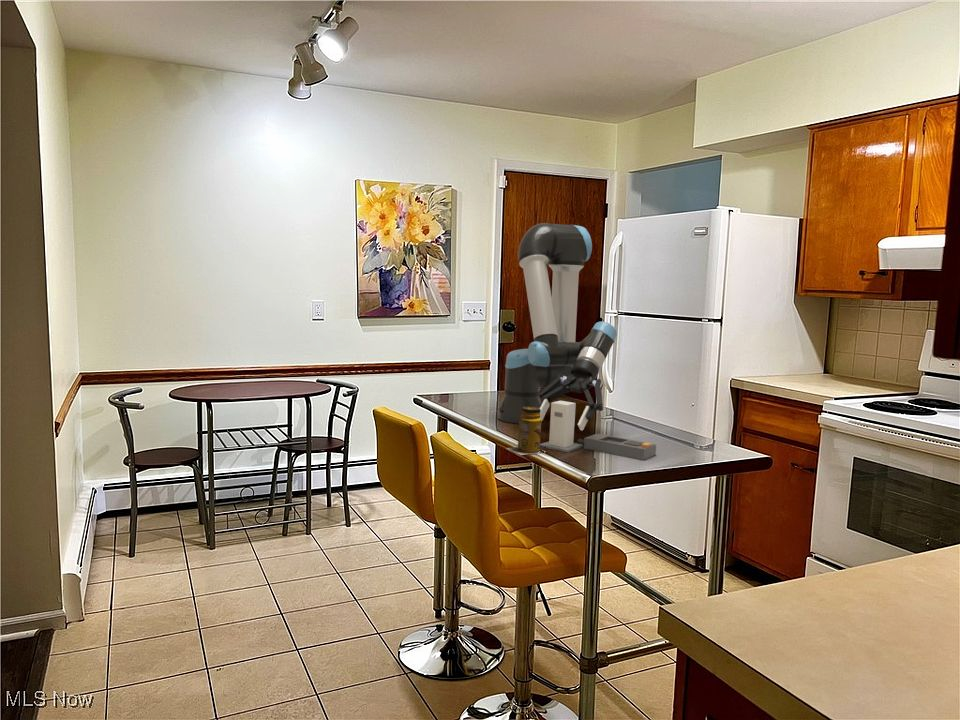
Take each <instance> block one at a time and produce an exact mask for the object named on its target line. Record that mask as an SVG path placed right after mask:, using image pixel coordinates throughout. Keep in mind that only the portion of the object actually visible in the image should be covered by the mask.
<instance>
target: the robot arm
mask: <svg viewBox="0 0 960 720" xmlns="http://www.w3.org/2000/svg"><path fill="white" fill-rule="evenodd" d="M592 241H593V240H592V238H591V235H590V233H589V231H588V230H587V228H586V227H584V226H581V225H576V224H561V223H547V222H540V223H537V224H535V225H533V226H531V227H530V228H529V229H528V230H527V231H525V233H524V235H523V236H522V237H521V241H520V243H519V247H518V253H517V256H518V264H519V267H520V268H522V269H523V270H522V271H523V275H524V283H525V288H526V295H527V302H528V311H529V314H530V315H529V317H530V322H531V327H532V334H533V336H532V337H533V341H532V342H530V343H529V345H528V348H521V349H520V348H519V349H515V350H511V351H510V352H508V353H507V355H506V358H505V359H506V361H505V364H504V367H505V377H504V395H503V399H502V401H501V404H500V406H499V408H498V409H499V410H498V413H497V419H498V420H499V419H500V421H503V422H504V423H512V424H518V425H519V418H520V417H521V409H522V407H537V408H540V418H541V423H542V421H543V422H544V421H545V420H544V418H545V415H546V414H547V412H548V410H549V408H550V407H551V403H552V402H554V401H555V400H556V399H558V398H560V397H562V396H563V395H565V394H568V393H578V394H582V393H584V395H585V398H586V400H587V402H588V405H586V406H585V408H584V410H583V412H582V415H581V416H580V419H579V420H578V423H577V426H578V428H579V430H580V431H582V432H583V430H584V429H585V427H586V425H587V423H588V421H590V420H592V418H593V416H594V414H595V412H597V411H599V412H602V411H603V410H604V404H603V394H602V393H603V392H602V389H603V387H604V384H603V381H602V380H601V378H597V377H598V375H599V372H600V371H601V369H602V366H603V365H604V363H605V361H606V359H607V357H608V355H609V352H610V350H611V349H612V346H613V345H614V344H615V341H616V338H617V335H618V331H617V328H616V327H615V326H614V325H613V324H610V323H609V322H607V321H598V322H596V323H594V325H593V327H592V328H591V330H590V332H589V334H588V335H587V336H585V337H584V338H583V339H582V340H581V341H579V342H577V341H576V337H577V336H576V335H577V334H576V332H577V331H576V330H577V316H578V315H577V313H578V298H579V297H578V295H579V294H578V293H579V277H580V276H579V274H580V271H581V270H582V269H584V267H585V262H587V261H588V260H589V259H590V258H591V255H592V251H593V243H592ZM548 267H549V268H550V269H551V271H552V279H551V280H552V283H551V284H552V285H551V284H550V279H549V272H548ZM550 285H551V286H550ZM592 387H594V390H595V391H594V392H595V402H596V403H594V401H593V397H592V396H591V392H590V391H589V389H591V388H592ZM541 389H542V390H541Z"/></svg>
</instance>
